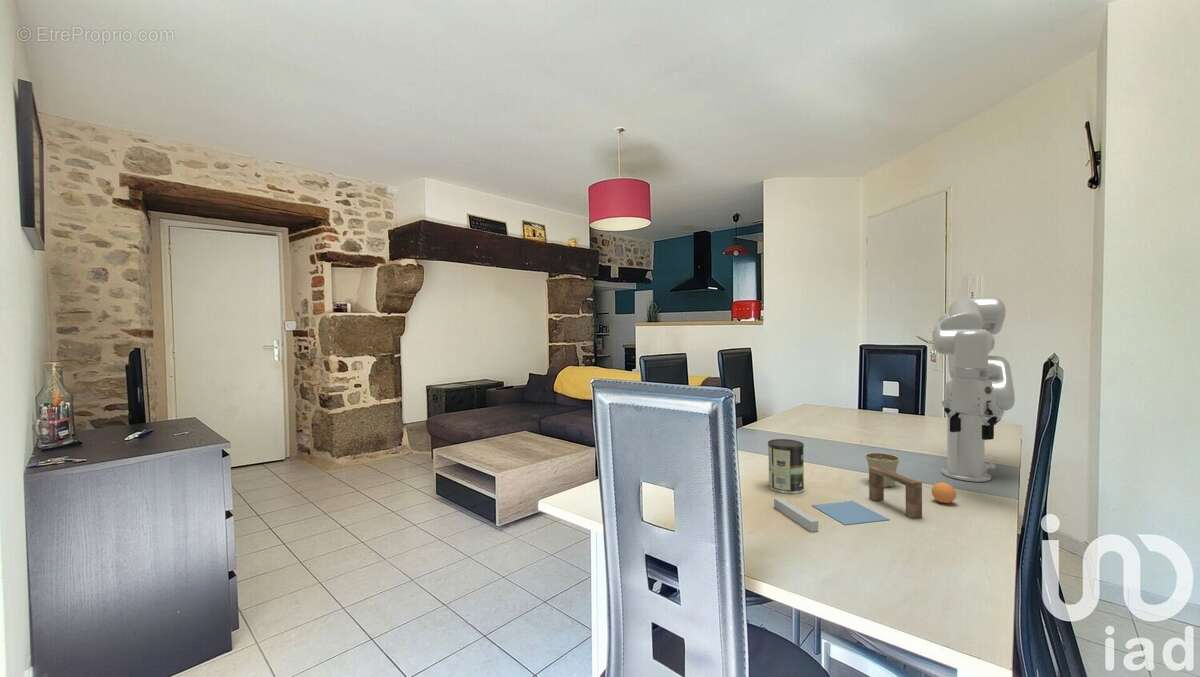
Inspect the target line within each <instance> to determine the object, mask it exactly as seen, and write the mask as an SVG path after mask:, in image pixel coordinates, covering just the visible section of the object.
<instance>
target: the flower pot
mask: <svg viewBox="0 0 1200 677" xmlns="http://www.w3.org/2000/svg"><path fill="white" fill-rule="evenodd" d="M864 457H865V459H866V462H867V464H868V468H869V467H874V466H879V467H882V468H884V469H887V470H890V471H893V472H895V473H897V470H898V469H897V468H898V465H899V462H900V461H901V458H900V456H898V455H894V454H889V453H883V452H868V453H865V454H864ZM895 483H896V482H895V481H893V480H890V479H888V478H885V477H884V488H888V487H894V486H895Z"/></svg>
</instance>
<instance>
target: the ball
mask: <svg viewBox="0 0 1200 677" xmlns="http://www.w3.org/2000/svg"><path fill="white" fill-rule="evenodd" d="M931 494H932V497H933V498H934V500H936V501H937V502H939V503H942V504H950V503H953V502H954V500H955V499H956V497H957V493H956V490H955V488H954V487H953V486H952V485H951V484H949V483H946V482H938V483H935V484H934V485H933V486H932V487H931Z"/></svg>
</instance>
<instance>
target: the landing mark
mask: <svg viewBox="0 0 1200 677" xmlns="http://www.w3.org/2000/svg"><path fill="white" fill-rule="evenodd" d="M811 506H812V507H813V508H815V509H816V510H818V511H820V512H822V513H823V514H825V515H827V516H828V517H830V518H831V519H833V520H835V521H837V522H839V523H841V524H842V525H844V526H849V525H850V526H851V525H857V524H858V525H859V524H865V523H866V524H867V523H876V522H884V521H890V518H888V517H886V516H883V515H882V514H880V513H878V512H876V511H874V510H871V509H870V508H868V507H865V506H863V505H861V504H860V503H858V502H856V501H854V500H849V501H848V500H847V501H840V502H830V503H829V502H828V503H819V504H811Z"/></svg>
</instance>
